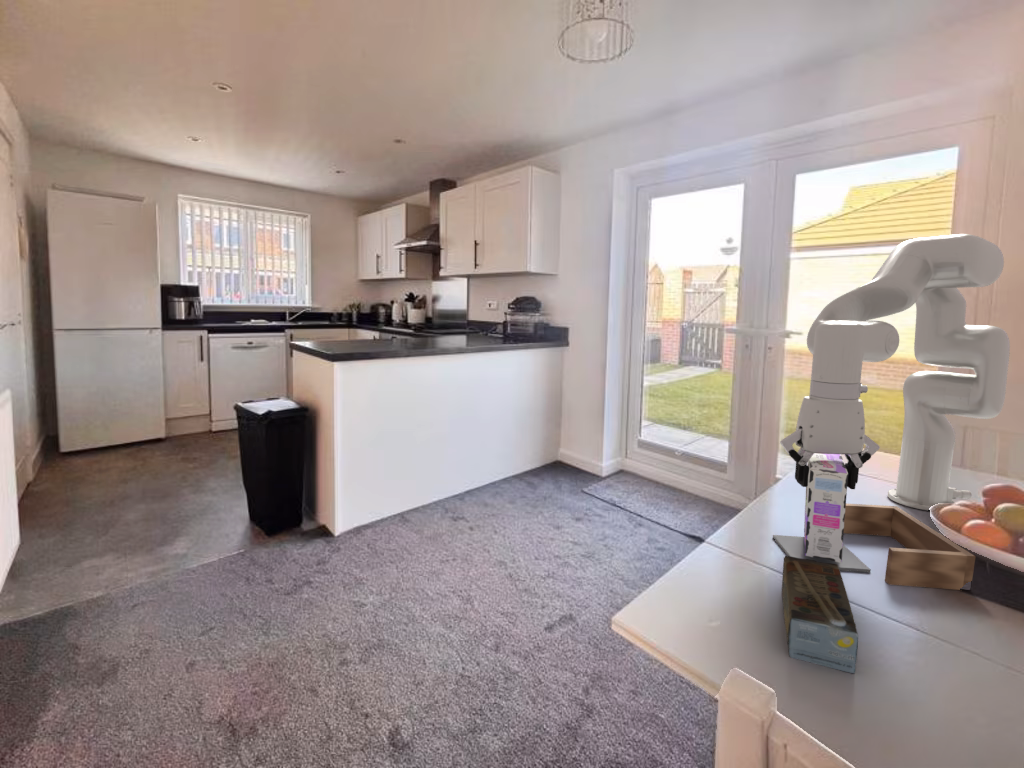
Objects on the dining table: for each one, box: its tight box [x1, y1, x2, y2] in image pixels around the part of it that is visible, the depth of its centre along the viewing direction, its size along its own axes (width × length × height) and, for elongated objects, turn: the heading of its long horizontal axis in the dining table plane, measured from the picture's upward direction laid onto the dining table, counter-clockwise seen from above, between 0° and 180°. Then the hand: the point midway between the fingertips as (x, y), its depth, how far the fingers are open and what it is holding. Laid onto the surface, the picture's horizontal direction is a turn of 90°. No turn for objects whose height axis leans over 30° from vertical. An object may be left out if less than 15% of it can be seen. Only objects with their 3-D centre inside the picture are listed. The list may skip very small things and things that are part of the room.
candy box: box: [803, 453, 848, 563], centre depth 94 cm, size 14×6×16 cm, turn 151°
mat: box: [772, 534, 872, 574], centre depth 95 cm, size 12×12×1 cm
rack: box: [844, 502, 976, 591], centre depth 93 cm, size 12×21×6 cm, turn 171°
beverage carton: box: [781, 555, 859, 674], centre depth 73 cm, size 8×19×7 cm, turn 154°
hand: (825, 485), depth 93 cm, fingers closed on candy box, 7 cm apart
